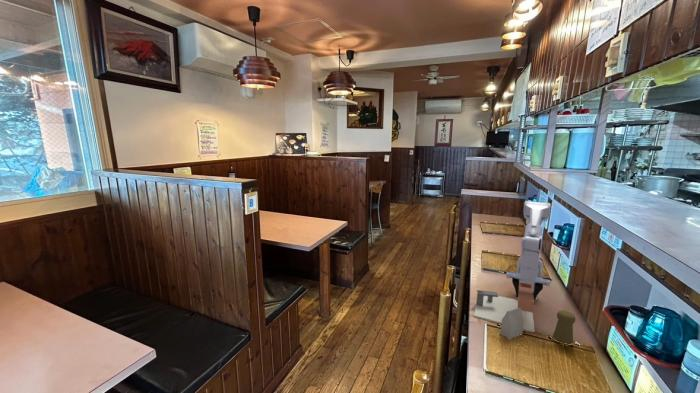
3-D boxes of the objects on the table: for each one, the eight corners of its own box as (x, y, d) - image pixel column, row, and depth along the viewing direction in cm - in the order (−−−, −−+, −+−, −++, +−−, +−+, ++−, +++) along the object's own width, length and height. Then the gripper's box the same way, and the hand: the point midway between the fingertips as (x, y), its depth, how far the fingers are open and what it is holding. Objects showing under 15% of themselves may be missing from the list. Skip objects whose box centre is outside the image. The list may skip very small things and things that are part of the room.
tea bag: (522, 335, 105) (525, 310, 103) (509, 339, 102) (512, 314, 101) (513, 329, 108) (515, 305, 107) (500, 333, 106) (502, 309, 104)
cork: (576, 347, 98) (581, 318, 96) (557, 345, 100) (561, 316, 98) (567, 336, 104) (571, 308, 102) (549, 334, 105) (552, 307, 103)
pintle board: (478, 292, 135) (479, 279, 134) (531, 304, 125) (532, 290, 124) (473, 316, 116) (474, 301, 115) (534, 333, 106) (536, 317, 105)
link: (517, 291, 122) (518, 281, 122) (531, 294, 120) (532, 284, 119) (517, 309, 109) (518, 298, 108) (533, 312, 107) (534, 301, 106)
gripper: (507, 266, 111) (504, 298, 114) (552, 274, 104) (548, 308, 107) (508, 259, 118) (504, 290, 120) (550, 267, 110) (546, 299, 113)
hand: (525, 298), depth 114 cm, fingers closed on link, 5 cm apart
